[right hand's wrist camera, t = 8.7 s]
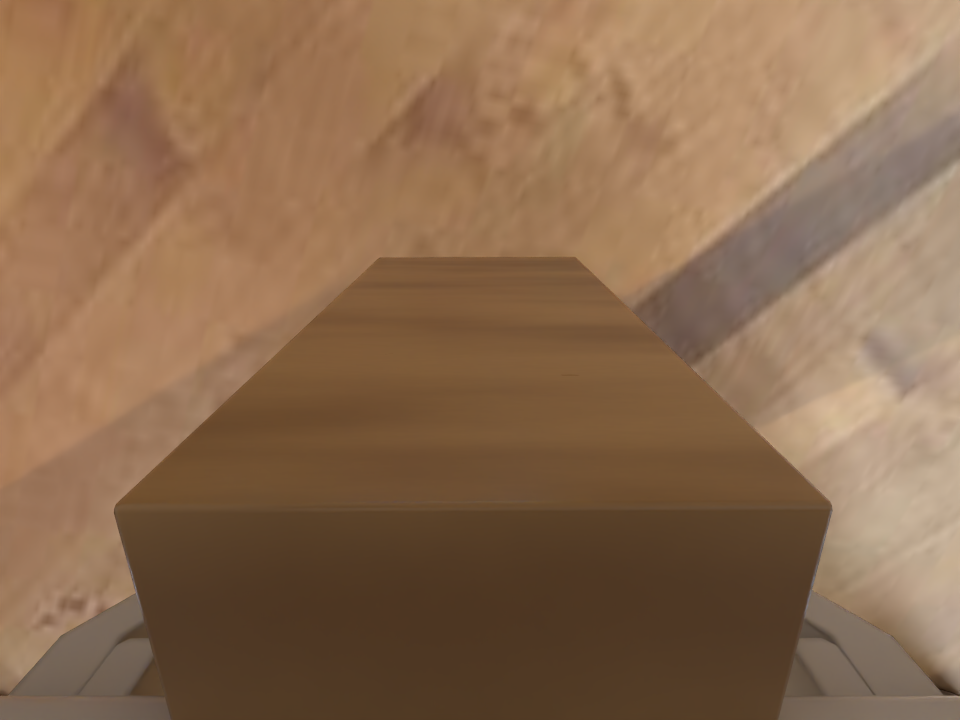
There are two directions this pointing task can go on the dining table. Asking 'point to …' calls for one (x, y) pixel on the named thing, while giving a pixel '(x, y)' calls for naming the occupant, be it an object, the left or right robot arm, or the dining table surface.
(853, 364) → the dining table surface
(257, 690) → the box
